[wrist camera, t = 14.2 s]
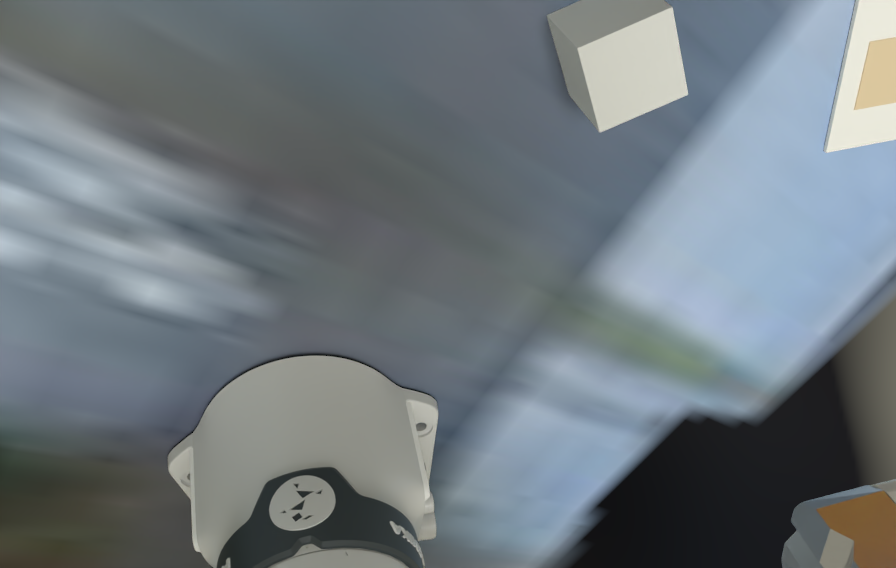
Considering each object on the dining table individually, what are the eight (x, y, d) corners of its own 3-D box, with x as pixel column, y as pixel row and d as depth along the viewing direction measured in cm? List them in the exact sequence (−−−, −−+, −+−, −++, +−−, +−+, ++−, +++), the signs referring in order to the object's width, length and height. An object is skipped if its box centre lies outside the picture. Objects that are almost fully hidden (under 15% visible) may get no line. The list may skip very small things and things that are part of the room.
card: (921, 132, 55) (925, 134, 55) (823, 150, 54) (826, 153, 54) (965, -22, 49) (970, -20, 49) (856, -4, 48) (860, -2, 48)
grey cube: (649, 59, 48) (688, 94, 44) (568, 94, 48) (599, 132, 44) (632, -24, 45) (672, 6, 41) (545, 14, 45) (577, 48, 41)
